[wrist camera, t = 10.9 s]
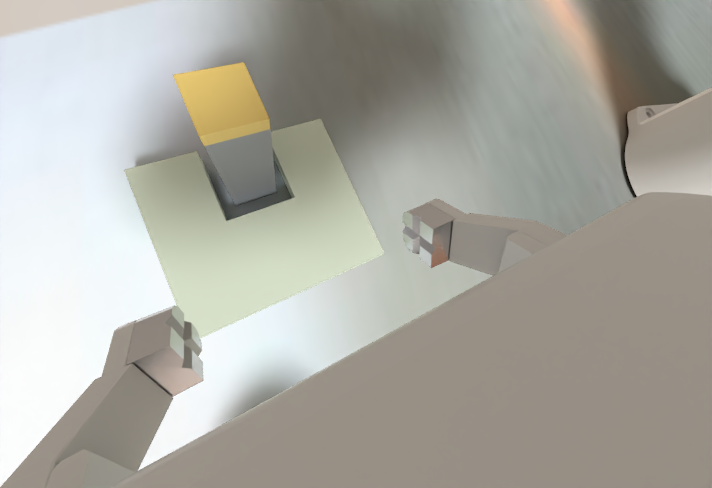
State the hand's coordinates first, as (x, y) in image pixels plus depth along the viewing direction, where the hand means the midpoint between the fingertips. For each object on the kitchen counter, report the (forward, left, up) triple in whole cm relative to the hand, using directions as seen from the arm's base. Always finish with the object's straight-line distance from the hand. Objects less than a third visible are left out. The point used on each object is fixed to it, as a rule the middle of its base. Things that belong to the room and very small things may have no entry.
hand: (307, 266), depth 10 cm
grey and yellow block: (0, -9, -11) cm, 15 cm away
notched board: (0, -5, -11) cm, 13 cm away
